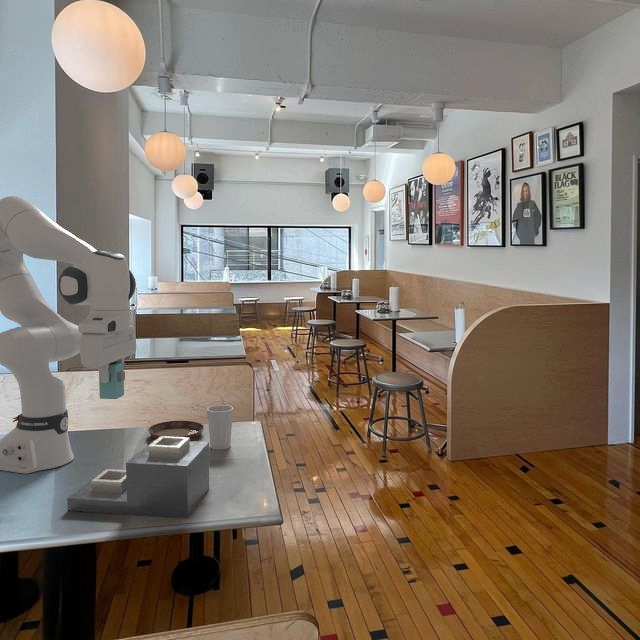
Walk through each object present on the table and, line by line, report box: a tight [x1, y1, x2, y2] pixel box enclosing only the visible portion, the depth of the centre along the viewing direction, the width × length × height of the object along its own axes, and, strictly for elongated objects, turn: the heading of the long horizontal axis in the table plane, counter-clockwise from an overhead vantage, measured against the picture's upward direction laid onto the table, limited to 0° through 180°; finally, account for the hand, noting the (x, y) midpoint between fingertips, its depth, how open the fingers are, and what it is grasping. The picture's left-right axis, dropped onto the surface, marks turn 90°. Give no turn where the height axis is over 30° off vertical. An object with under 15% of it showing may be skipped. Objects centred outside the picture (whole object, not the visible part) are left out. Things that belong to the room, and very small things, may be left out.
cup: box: [206, 404, 234, 450], centre depth 164 cm, size 8×8×12 cm
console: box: [66, 436, 210, 519], centre depth 126 cm, size 28×16×14 cm, turn 85°
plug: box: [98, 361, 126, 400], centre depth 124 cm, size 5×4×10 cm
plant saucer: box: [147, 420, 205, 441], centre depth 174 cm, size 18×18×3 cm
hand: (111, 379), depth 125 cm, fingers closed on plug, 4 cm apart
